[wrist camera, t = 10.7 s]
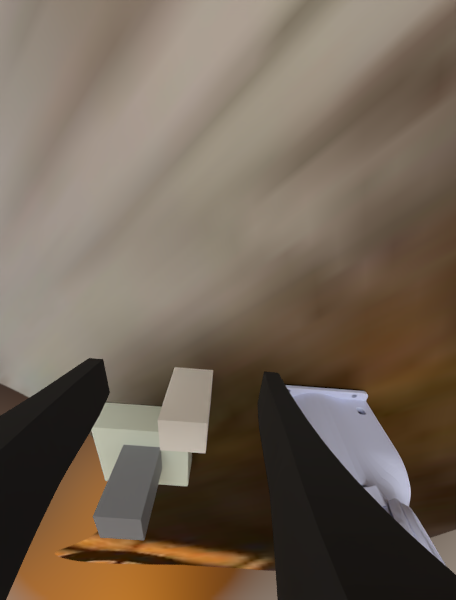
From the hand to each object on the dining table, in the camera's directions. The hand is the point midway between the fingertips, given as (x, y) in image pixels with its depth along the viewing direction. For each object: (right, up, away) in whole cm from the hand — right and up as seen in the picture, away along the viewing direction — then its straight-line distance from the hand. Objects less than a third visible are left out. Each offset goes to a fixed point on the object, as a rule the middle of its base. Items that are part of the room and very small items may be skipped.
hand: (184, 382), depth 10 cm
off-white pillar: (-2, -5, +14) cm, 15 cm away
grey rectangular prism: (-7, -14, +15) cm, 22 cm away
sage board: (-7, -13, +18) cm, 23 cm away
